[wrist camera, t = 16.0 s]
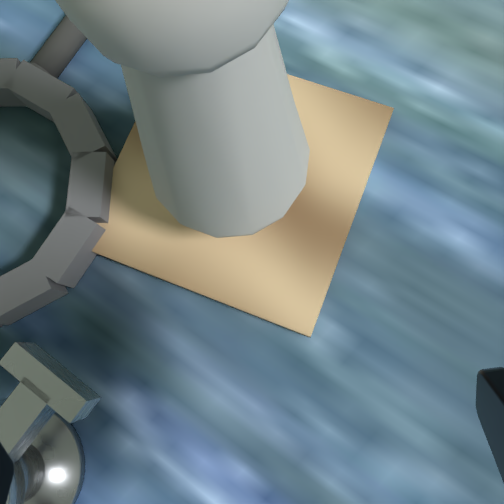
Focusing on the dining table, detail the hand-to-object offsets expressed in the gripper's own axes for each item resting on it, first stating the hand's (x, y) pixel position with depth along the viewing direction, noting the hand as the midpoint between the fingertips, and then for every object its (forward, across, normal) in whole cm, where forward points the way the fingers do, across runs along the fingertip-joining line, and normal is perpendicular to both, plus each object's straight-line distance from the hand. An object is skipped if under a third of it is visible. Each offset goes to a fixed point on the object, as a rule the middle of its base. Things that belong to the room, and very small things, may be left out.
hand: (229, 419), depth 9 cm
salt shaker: (+12, 0, 0) cm, 12 cm away
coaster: (+13, 0, 0) cm, 13 cm away
